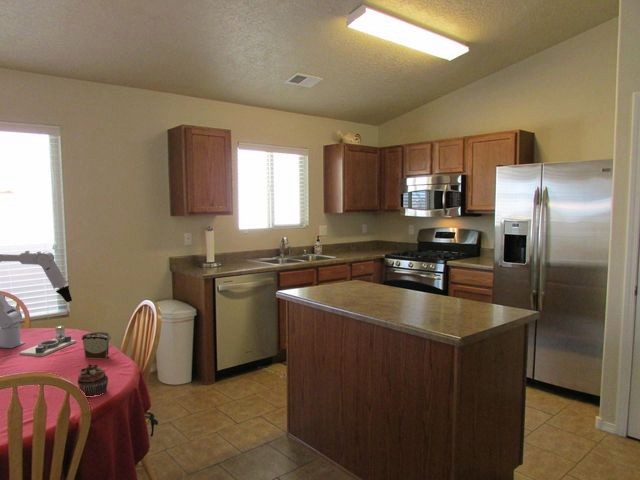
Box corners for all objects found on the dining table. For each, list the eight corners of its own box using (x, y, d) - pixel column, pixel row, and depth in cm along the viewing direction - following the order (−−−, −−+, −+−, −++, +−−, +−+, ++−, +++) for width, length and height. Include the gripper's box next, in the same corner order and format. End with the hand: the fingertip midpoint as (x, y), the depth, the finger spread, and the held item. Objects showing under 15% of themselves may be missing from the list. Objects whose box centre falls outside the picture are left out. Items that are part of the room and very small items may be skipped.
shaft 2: (67, 340, 214) (67, 335, 214) (71, 341, 213) (70, 336, 212) (57, 343, 210) (56, 337, 210) (60, 344, 208) (60, 338, 208)
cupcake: (103, 398, 153) (101, 370, 152) (73, 399, 152) (72, 371, 151) (113, 387, 163) (112, 360, 162) (85, 388, 162) (84, 361, 161)
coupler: (53, 340, 217) (53, 327, 217) (60, 337, 221) (59, 325, 221) (61, 340, 216) (60, 328, 216) (67, 337, 220) (66, 326, 220)
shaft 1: (42, 353, 196) (42, 347, 196) (35, 353, 195) (35, 347, 195) (47, 349, 201) (47, 344, 201) (40, 350, 200) (40, 344, 200)
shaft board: (19, 354, 196) (18, 348, 196) (54, 340, 216) (53, 335, 216) (42, 356, 194) (42, 350, 194) (76, 342, 214) (75, 337, 214)
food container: (117, 354, 197) (116, 332, 196) (109, 359, 191) (108, 336, 190) (90, 353, 198) (89, 331, 198) (82, 358, 192) (81, 335, 191)
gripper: (64, 271, 205) (78, 297, 207) (63, 272, 217) (77, 297, 219) (47, 278, 201) (63, 305, 203) (48, 279, 214) (62, 304, 216)
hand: (69, 301), depth 211 cm, fingers open, 7 cm apart
